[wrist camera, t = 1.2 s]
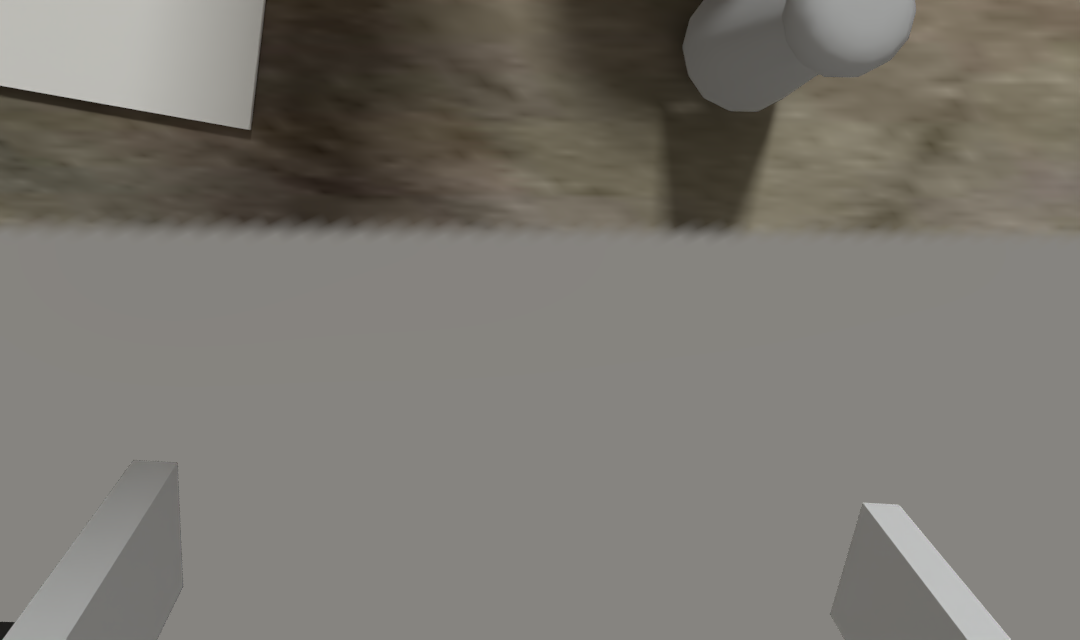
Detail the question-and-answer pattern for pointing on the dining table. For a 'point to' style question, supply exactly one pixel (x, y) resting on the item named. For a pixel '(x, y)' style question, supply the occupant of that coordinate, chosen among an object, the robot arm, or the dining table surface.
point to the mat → (138, 54)
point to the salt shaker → (787, 45)
